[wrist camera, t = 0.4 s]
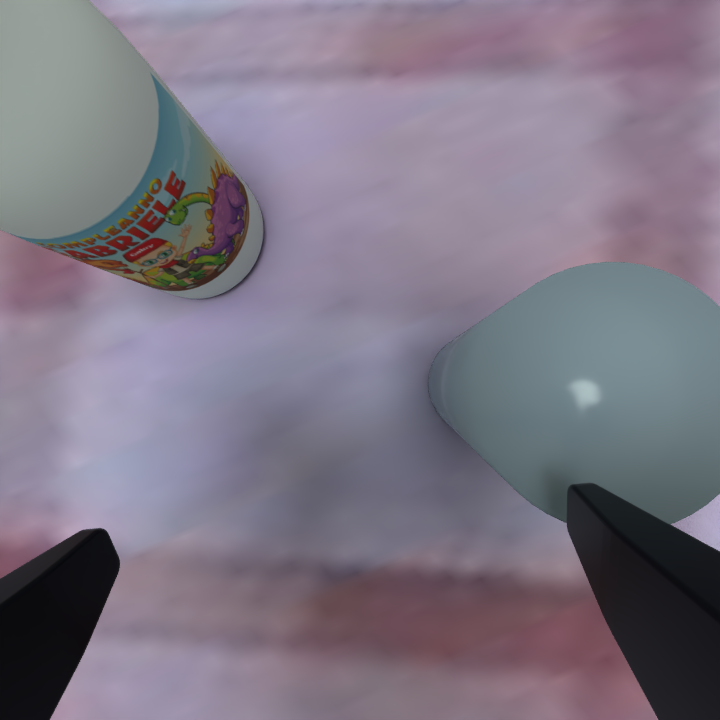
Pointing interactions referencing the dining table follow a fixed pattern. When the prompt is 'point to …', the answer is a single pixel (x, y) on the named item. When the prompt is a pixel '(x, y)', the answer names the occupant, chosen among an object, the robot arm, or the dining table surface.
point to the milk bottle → (113, 158)
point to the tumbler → (593, 389)
